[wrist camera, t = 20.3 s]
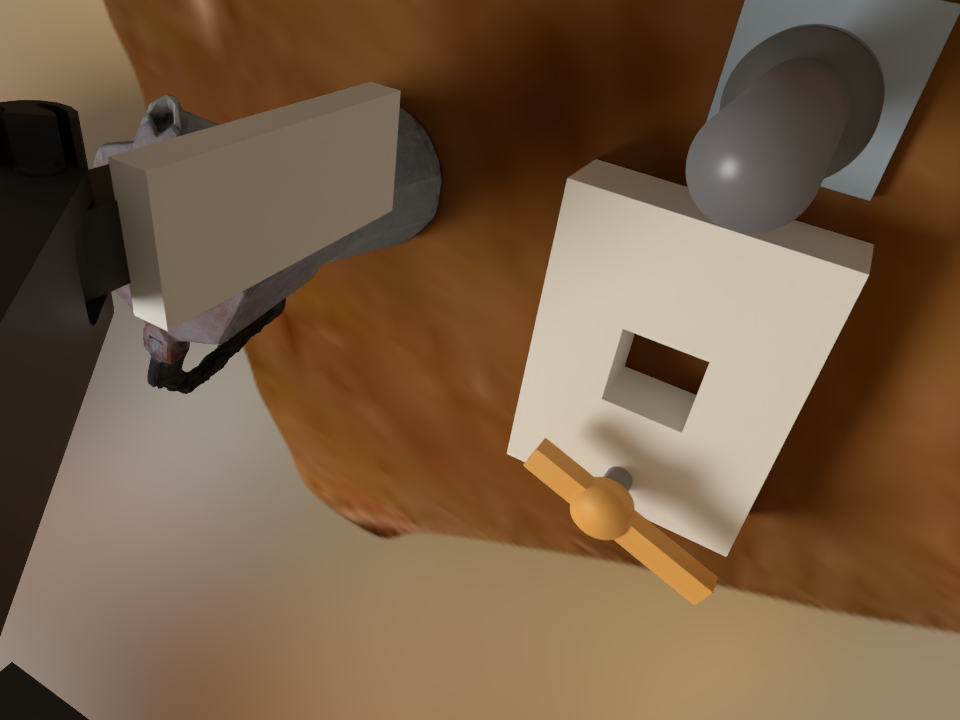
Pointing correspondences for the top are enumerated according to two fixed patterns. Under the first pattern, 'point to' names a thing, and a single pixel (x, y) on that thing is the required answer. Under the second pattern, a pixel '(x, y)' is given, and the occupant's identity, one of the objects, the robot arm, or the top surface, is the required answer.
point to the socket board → (679, 345)
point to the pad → (893, 39)
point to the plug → (785, 127)
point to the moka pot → (268, 297)
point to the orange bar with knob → (619, 521)
